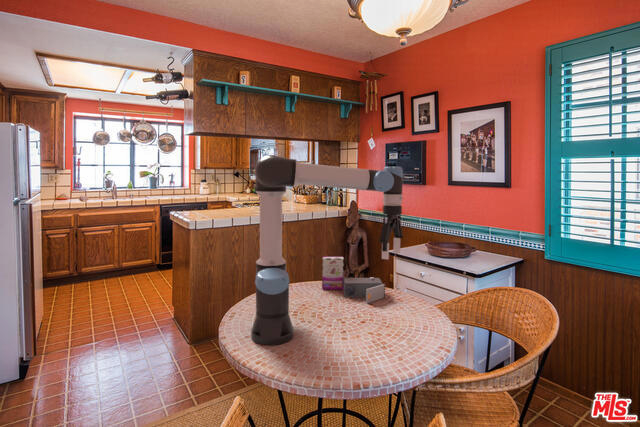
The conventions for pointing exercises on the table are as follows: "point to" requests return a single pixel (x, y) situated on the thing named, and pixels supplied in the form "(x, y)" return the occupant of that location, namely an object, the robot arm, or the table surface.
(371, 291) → the door
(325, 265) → the candy bar box
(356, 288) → the case
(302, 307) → the table surface
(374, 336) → the table surface
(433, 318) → the table surface
